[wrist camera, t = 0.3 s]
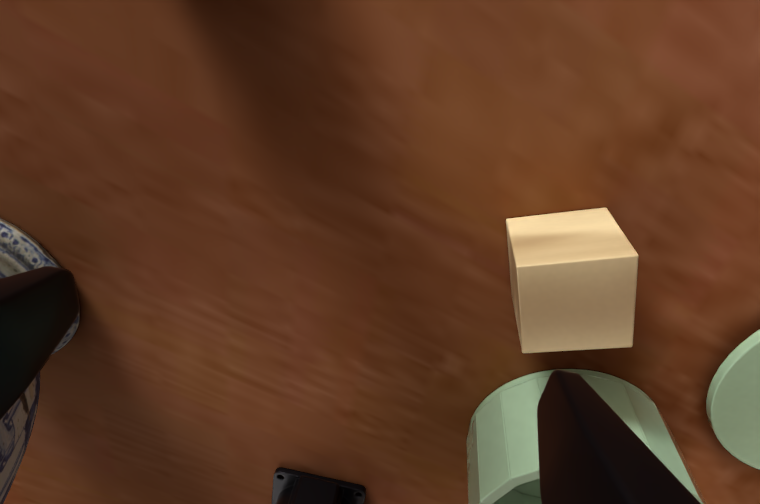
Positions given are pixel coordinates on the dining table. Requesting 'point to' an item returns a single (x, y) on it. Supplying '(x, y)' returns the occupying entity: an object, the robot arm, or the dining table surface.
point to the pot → (520, 437)
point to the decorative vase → (11, 434)
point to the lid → (738, 402)
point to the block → (572, 281)
